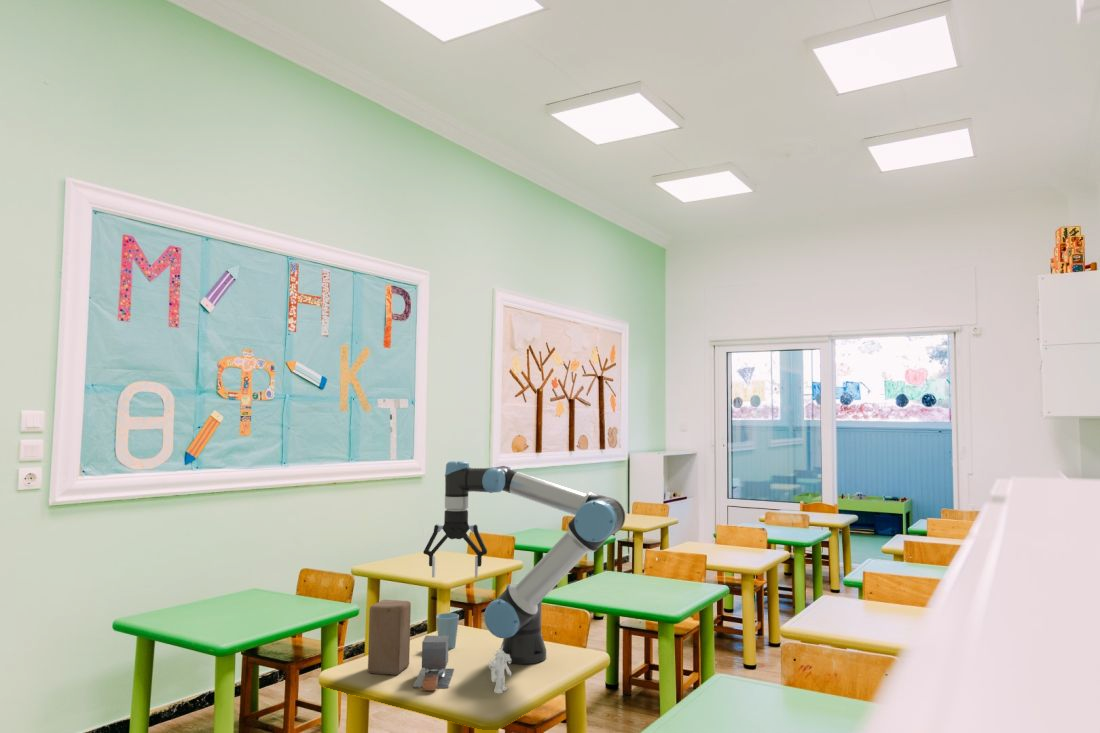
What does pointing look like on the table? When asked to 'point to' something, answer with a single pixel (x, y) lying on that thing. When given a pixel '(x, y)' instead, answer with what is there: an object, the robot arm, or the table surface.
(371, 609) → the wooden block
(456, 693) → the table surface
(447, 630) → the cup
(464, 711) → the table surface
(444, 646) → the grey metal cube
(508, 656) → the hat wearing toy figure
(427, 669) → the lever
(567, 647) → the table surface
